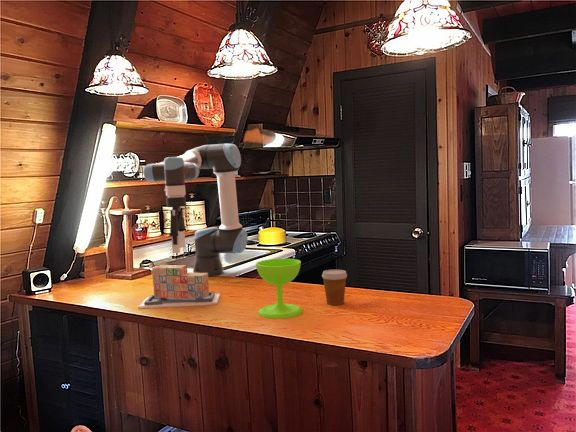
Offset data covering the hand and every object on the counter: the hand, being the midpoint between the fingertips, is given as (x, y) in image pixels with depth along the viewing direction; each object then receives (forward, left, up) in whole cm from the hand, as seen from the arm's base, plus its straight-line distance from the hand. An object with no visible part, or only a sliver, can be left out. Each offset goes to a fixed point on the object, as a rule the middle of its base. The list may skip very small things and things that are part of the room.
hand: (179, 250), depth 198 cm
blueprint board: (+1, 0, -21) cm, 21 cm away
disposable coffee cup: (+15, +60, -21) cm, 65 cm away
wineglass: (+23, +39, -21) cm, 50 cm away
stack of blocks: (+1, 0, -19) cm, 19 cm away
